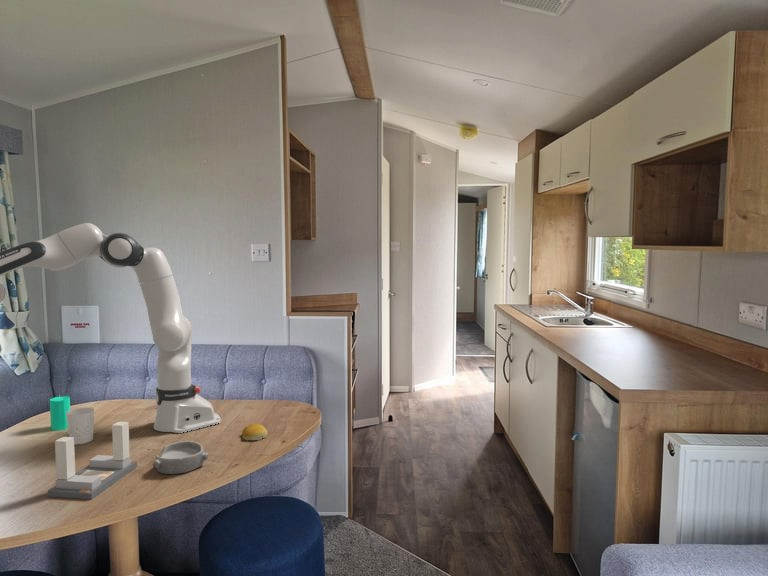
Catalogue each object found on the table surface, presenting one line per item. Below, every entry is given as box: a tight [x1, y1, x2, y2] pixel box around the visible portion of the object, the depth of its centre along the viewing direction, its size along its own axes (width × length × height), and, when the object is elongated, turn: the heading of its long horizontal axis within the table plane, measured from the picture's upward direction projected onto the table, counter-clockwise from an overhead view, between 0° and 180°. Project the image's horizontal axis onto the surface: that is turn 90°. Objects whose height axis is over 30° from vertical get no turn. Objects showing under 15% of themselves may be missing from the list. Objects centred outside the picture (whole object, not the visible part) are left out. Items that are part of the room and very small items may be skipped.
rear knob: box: [111, 421, 131, 460], centre depth 148 cm, size 3×3×10 cm
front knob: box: [54, 436, 76, 480], centre depth 136 cm, size 3×3×10 cm
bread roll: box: [241, 423, 269, 441], centre depth 177 cm, size 8×9×4 cm
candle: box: [49, 393, 71, 431], centre depth 183 cm, size 6×6×12 cm
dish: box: [153, 440, 209, 475], centre depth 153 cm, size 14×14×5 cm
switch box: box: [47, 454, 138, 500], centre depth 143 cm, size 12×20×4 cm, turn 174°
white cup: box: [66, 406, 95, 445], centre depth 171 cm, size 8×8×10 cm
